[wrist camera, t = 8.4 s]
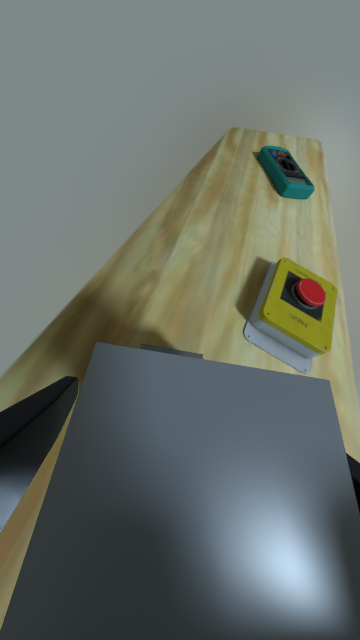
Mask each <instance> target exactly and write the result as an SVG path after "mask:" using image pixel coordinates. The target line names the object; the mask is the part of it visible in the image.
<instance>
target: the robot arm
mask: <svg viewBox="0 0 360 640" xmlns="http://www.w3.org/2000/svg"><path fill="white" fill-rule="evenodd" d="M77 393H78V378H77V377H72V376H66V377H64V378H62V379H60V380H58V381H56V382H55V383H53V384H51V385H49V386H47V387H45V388H44V389H42V390H40V391H38V392H36V393H34V394H33V395H31V396H29V397H27V398H25V399H23V400H22V401H20V402H18V403H16V404H14V405H12V406H11V407H9V408H7V409H5V410H3V411H1V412H0V532H1V531H2V529H3V527H4V526H5V524H6V522H7V521H8V519H9V517H10V516H11V514H12V512H13V511H14V509H15V507H16V506H17V504H18V502H19V501H20V499H21V497H22V496H23V494H24V492H25V491H26V489H27V487H28V486H29V484H30V482H31V481H32V479H33V477H34V476H35V474H36V472H37V471H38V469H39V467H40V466H41V464H42V462H43V461H44V459H45V457H46V456H47V454H48V452H49V451H50V449H51V447H52V446H53V444H54V442H55V441H56V439H57V437H58V435H59V433H60V431H61V429H62V427H63V425H64V423H65V421H66V419H67V416H68V414H69V412H70V410H71V408H72V406H73V404H74V402H75V400H76V397H77ZM346 456H347V461H348V465H349V469H350V474H351V478H352V482H353V487H354V491H355V496H356V500H357V504H358V509H359V513H360V463H359V462H357V461H356V460H355V459H353V458H352V457H351V456H349V455H348V454H347V453H346Z"/></svg>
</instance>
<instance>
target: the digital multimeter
mask: <svg viewBox="0 0 360 640" xmlns="http://www.w3.org/2000/svg"><path fill="white" fill-rule="evenodd" d="M258 159H259V161H260V162H261V164H262V165H263V167H264V168H265V170H266V172H267V173H268V175H269V176H270V178H271V180H272V181H273V183H274V185H275V187H276V189H277V190H278V192H279V194H280V195H281V196H282V197H287V198H294V199H308V197H309V196H310V195H311V194H312V193H313V191H314V185H313V184H312V183H311V182H310V180H309V179H308V178H307V177H306V175H305V174H304V173H303V171H302V170H301V169H300V167H299V166H298V165H297V163H296V162H295V160H294V159H293V157H292V156H291V154H290V153H289V151H288V150H286V149H284V148H281V147H276V146H265V147H262V149H261V151H260V153H259V155H258Z"/></svg>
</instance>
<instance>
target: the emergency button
mask: <svg viewBox="0 0 360 640" xmlns="http://www.w3.org/2000/svg"><path fill="white" fill-rule="evenodd" d="M336 298H337V288H336V287H335V286H334V285H333V284H331V283H330V282H328V281H326V280H324V279H323V278H321V277H319V276H318V275H316V274H314V273H312V272H311V271H309V270H307V269H305V268H304V267H302V266H300V265H299V264H297V263H295V262H293V261H292V260H290V259H288V258H282V259H280V260H279V261H278V262H277V263H275V262H273V263H271V264H270V265H269V268H268V270H267V273H266V275H265V278H264V280H263V283H262V285H261V288H260V291H259V293H258V296H257V298H256V301H255V303H254V306H253V308H252V311H251V314H250V316H249V319H248V321H247V324H246V326H245V329H244V337H245V339H246V340H247V341H248V342H250V343H252V344H254V345H255V346H257V347H259V348H260V349H262V350H264V351H265V352H267V353H269V354H270V355H272V356H274V357H276V358H277V359H279V360H281V361H282V362H284V363H286V364H287V365H289V366H291V367H292V368H294V369H296V370H298V371H299V372H301V373H304V374H306V373H308V372H309V371H310V369H311V363H312V358H313V357H315V356H318V355H322V354H325V353H327V352H330V350H331V342H332V334H333V325H334V316H335V307H336Z"/></svg>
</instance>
